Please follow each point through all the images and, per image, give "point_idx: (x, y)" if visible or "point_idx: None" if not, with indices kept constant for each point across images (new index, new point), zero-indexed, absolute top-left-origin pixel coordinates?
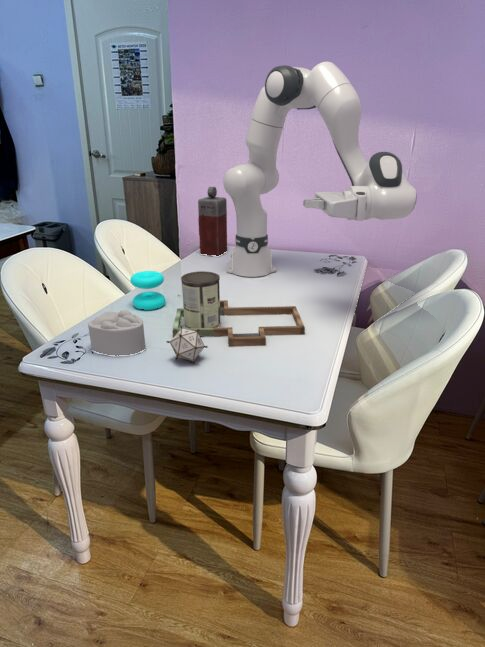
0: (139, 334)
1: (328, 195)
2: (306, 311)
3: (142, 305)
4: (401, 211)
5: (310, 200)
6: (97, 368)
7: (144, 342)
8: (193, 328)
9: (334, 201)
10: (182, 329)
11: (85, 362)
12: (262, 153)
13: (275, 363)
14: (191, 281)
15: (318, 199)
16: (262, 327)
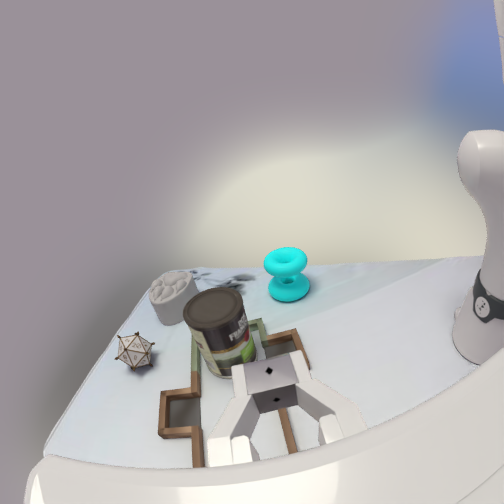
0: (156, 309)
1: (370, 495)
2: None
3: (268, 286)
4: None
5: (252, 388)
6: (144, 307)
7: (167, 319)
8: (196, 350)
9: (36, 471)
10: (133, 336)
11: None
12: None
13: (117, 444)
14: (194, 302)
15: (323, 434)
16: (195, 430)
